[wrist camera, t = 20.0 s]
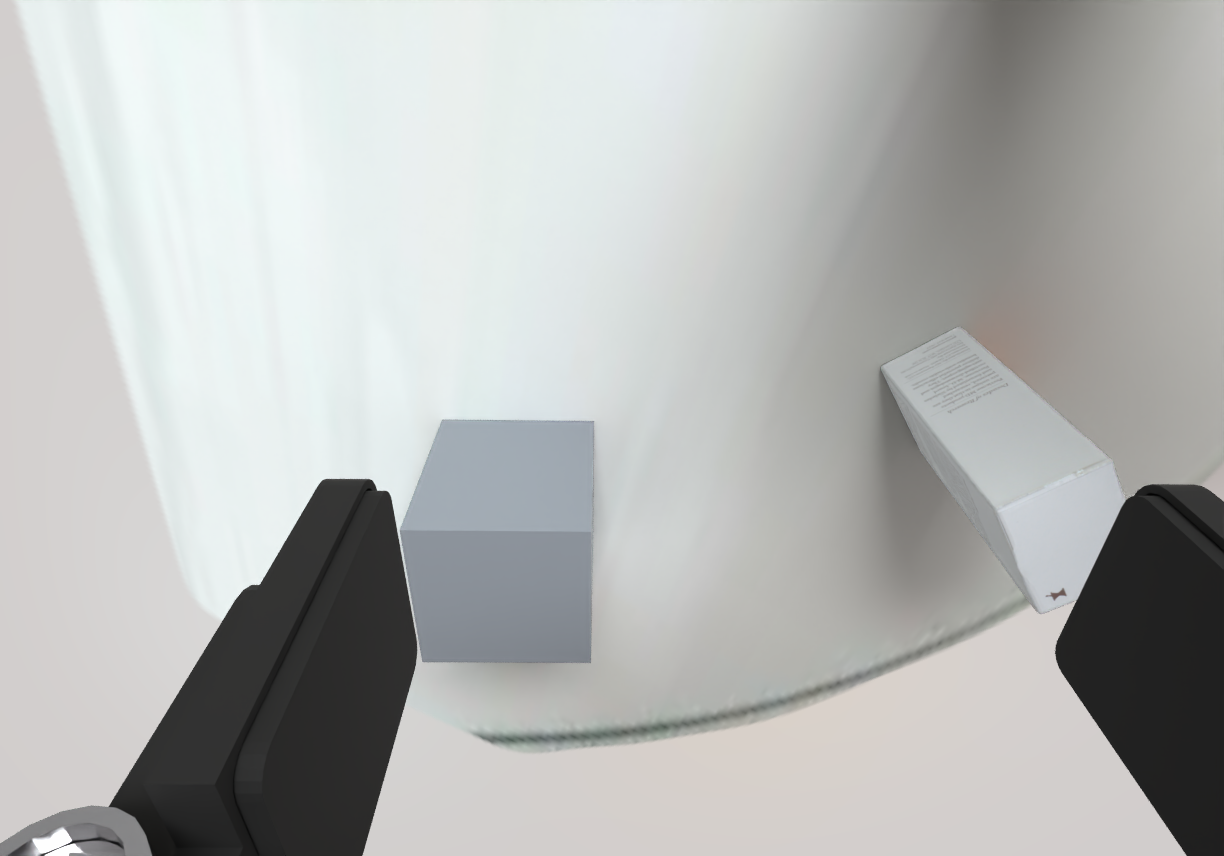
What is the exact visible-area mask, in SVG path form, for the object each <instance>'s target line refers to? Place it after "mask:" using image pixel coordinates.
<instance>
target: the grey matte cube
mask: <svg viewBox="0 0 1224 856" xmlns="http://www.w3.org/2000/svg"><path fill="white" fill-rule="evenodd" d="M593 459H594V421H506V420H442V422H441V424H440V427H439V429H438V432H437V435H436V437H435V440H434V443H433V445H432V448H431V450H430V453H429V456H428V458H427V461H426V463H425V466H424V469H423V471H422V474H421V476H420V479H419V482H418V484H417V487H416V489H415V492H414V495H413V497H412V500H411V502H410V505H409V508H408V510H407V513H406V516H405V518H404V521H403V523H402V526H401V529H400V534H401V540H402V546H403V551H404V557H405V563H406V569H407V575H408V581H409V586H410V592H411V598H412V604H413V610H414V615H415V621H416V627H417V633H418V639H419V645H420V650H421V656H422V662H543V663H591V621H592V566H593Z"/></svg>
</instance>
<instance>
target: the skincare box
mask: <svg viewBox="0 0 1224 856" xmlns="http://www.w3.org/2000/svg"><path fill="white" fill-rule="evenodd" d="M881 371H882V373H883V375H884V377H885V379H886V381H887V383H888V385H889V387H890V390H891V392H892V394H893V396H894V398H895V400H896V402H897V404H898V406H899V408H900V410H901V412H902V414H903V417H904V419H905V421H906V423H907V425H908V427H909V429H910V431H911V433H912V435H913V437H914V439H915V441H916V443H917V445H918V447H919V450H920V452H921V453H922V455H923V456H924V457H925V459H926V460H927V462H928V463H929V464H930V466H931V467H932V469H933V470H934V471H935V473H936V474H937V476H938V477H939V478H940V480H941V481H942V482H943V484H944V485H945V486H946V488H947V489H948V491H949V492H950V493H951V495H952V496H953V497H954V499H955V500H956V501H957V503H958V504H959V506H960V507H961V508H962V510H963V511H964V512H965V514H966V515H967V517H968V518H969V519H970V521H971V522H972V524H973V525H974V526H975V528H976V529H977V531H978V532H979V533H980V535H981V536H982V538H983V539H984V540H985V542H986V543H987V544H988V546H989V547H990V549H991V550H992V551H993V553H994V554H995V555H996V557H997V558H998V560H999V561H1000V562H1001V564H1002V565H1003V566H1004V568H1005V569H1006V571H1007V572H1008V574H1009V575H1010V577H1011V578H1012V580H1013V581H1014V582H1015V584H1016V585H1017V586H1018V588H1019V589H1020V590H1021V592H1022V593H1023V595H1024V596H1025V597H1026V598H1027V600H1028V601H1029V602H1030V604H1031V605H1032V606H1033V608H1034V609H1035V610H1036V611H1037V612H1038V613H1040V614H1043V613H1046V612H1049V611H1051V610H1054V609H1056V608H1059V607H1061V606H1064V605H1066V604H1069V603H1071V602H1074V601H1076V600H1077V599H1078V597H1079V595H1080V593H1081V591H1082V589H1083V586H1084V584H1085V582H1086V580H1087V578H1088V576H1089V574H1090V572H1091V570H1092V568H1093V566H1094V564H1095V561H1096V559H1097V557H1098V555H1099V553H1100V551H1101V549H1102V547H1103V545H1104V543H1105V541H1106V539H1107V536H1108V534H1109V532H1110V530H1111V528H1112V526H1113V524H1114V522H1115V520H1116V518H1117V516H1118V514H1119V511H1120V509H1121V507H1122V505H1123V504H1124V502H1125V501H1126V500H1125V497H1124V494H1123V491H1122V488H1121V485H1120V482H1119V479H1118V476H1117V473H1116V470H1115V467H1114V462H1113V460H1112V459H1111V458H1110V457H1108V456H1107V455H1106V454H1105V453H1104V452H1103V451H1102V450H1100V449H1099V448H1098V447H1097V446H1096V445H1095V444H1094V443H1093V442H1091V441H1090V440H1089V439H1088V438H1087V437H1086V436H1085V435H1083V434H1082V433H1081V432H1080V431H1079V430H1078V429H1077V428H1075V427H1074V426H1073V425H1072V424H1071V423H1070V422H1069V421H1068V420H1067V419H1065V418H1064V417H1063V416H1062V415H1061V414H1060V413H1059V412H1057V411H1056V410H1055V409H1054V408H1053V407H1052V406H1051V405H1050V404H1048V403H1047V402H1046V401H1045V400H1044V399H1043V398H1042V397H1040V396H1039V395H1038V394H1037V393H1036V392H1035V391H1034V390H1033V389H1031V388H1030V387H1029V386H1028V385H1027V384H1026V383H1025V382H1024V381H1022V380H1021V379H1020V378H1019V377H1018V376H1017V375H1016V374H1014V373H1013V372H1012V371H1011V370H1010V369H1009V368H1008V367H1006V366H1005V365H1004V364H1003V363H1002V362H1001V361H1000V360H999V359H997V358H996V357H995V356H994V355H993V354H992V353H990V352H989V351H988V350H987V349H986V348H985V347H984V346H982V345H981V344H980V343H979V342H978V341H977V340H976V339H974V338H973V337H972V336H971V335H970V334H969V333H968V332H966V331H965V330H964V329H963V328H962V327H956V328H954V329H952V330H950V331H948V332H946V333H944V334H942V335H941V336H939V337H937V338H935V339H933V340H931V341H929V342H927V343H925V344H923V345H921V346H919V347H917V348H916V349H914V350H912V351H910V352H908V353H906V354H904V355H902V356H900V357H898V358H896V359H894V360H892V361H890V362H888V363H886V364H884V365H883V366H881Z"/></svg>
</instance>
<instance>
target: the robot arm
mask: <svg viewBox="0 0 1224 856" xmlns="http://www.w3.org/2000/svg"><path fill="white" fill-rule="evenodd" d="M1055 654H1056V660H1057V663H1058V666H1059V668H1060V670H1061V672H1062V674H1063V675H1064V677H1065V678H1066V680H1067V681H1068V682H1069V684H1070V685H1071V687H1072V688H1073V690H1074V691H1075V693H1076V694H1077V696H1078V697H1079V699H1080V700H1081V701H1082V703H1083V704H1084V706H1085V707H1086V709H1087V710H1088V712H1089V713H1090V715H1091V716H1092V718H1093V719H1094V720H1095V722H1096V723H1097V725H1098V726H1099V728H1100V729H1101V731H1102V732H1103V734H1104V735H1105V736H1106V738H1107V739H1108V741H1109V742H1110V744H1111V745H1112V747H1113V748H1114V750H1115V751H1116V753H1117V754H1118V755H1119V757H1120V759H1121V760H1122V761H1123V763H1124V764H1125V766H1126V767H1127V769H1128V770H1129V772H1130V773H1131V775H1132V776H1133V778H1134V779H1135V780H1136V782H1137V783H1138V785H1139V786H1140V788H1141V789H1142V791H1143V792H1144V794H1145V795H1146V797H1147V798H1148V799H1149V801H1150V802H1151V804H1152V805H1153V806H1154V808H1155V810H1156V811H1157V813H1158V814H1159V816H1160V817H1161V819H1162V820H1163V821H1164V823H1165V824H1166V826H1167V827H1168V829H1169V830H1170V832H1171V833H1172V835H1173V836H1174V838H1175V839H1176V841H1177V842H1178V843H1179V845H1180V846H1181V847H1182V849H1183V851H1184V852H1185V854H1186V855H1187V856H1224V502H1223V501H1222V500H1221V499H1220V498H1218V497H1217V496H1216V495H1215V494H1213V493H1212V492H1211V491H1209V490H1208V489H1206V488H1204V487H1202V486H1198V485H1156V484H1152V485H1147V486H1144V487H1142V488H1141V489H1140V490H1138V491H1137V493H1136V494H1135V495H1134V496H1133V497H1130V498H1129V499H1127V500H1126V501H1125V502H1124V504H1123V505H1122V507H1121V509H1120V511H1119V514H1118V516H1117V518H1116V520H1115V522H1114V524H1113V526H1112V528H1111V530H1110V532H1109V534H1108V536H1107V539H1106V541H1105V543H1104V545H1103V547H1102V549H1101V551H1100V553H1099V555H1098V557H1097V559H1096V561H1095V564H1094V566H1093V568H1092V570H1091V572H1090V574H1089V576H1088V578H1087V580H1086V582H1085V584H1084V586H1083V589H1082V591H1081V593H1080V595H1079V597H1078V599H1077V601H1076V603H1075V605H1074V607H1073V610H1072V611H1071V614H1070V616H1069V618H1068V620H1067V622H1066V624H1065V626H1064V628H1063V630H1062V632H1061V634H1060V636H1059V639H1058V641H1057V644H1056V651H1055ZM416 659H417V640H416V634H415V629H414V623H413V617H412V612H411V606H410V601H409V595H408V589H407V584H406V578H405V572H404V567H403V561H402V556H401V550H400V544H399V539H398V533H397V527H396V522H395V516H394V511H393V505H392V500H391V496H390V494H389V492H387V491H377V489H376V486H375V484H374V482H373V481H372V480H370V479H325V480H322V482H321V483H320V484H319V485H318V487H317V489H316V490H315V492H314V494H313V495H312V497H311V499H310V500H309V502H308V504H307V506H306V507H305V509H304V511H303V512H302V514H301V516H300V518H299V519H298V521H297V523H296V524H295V526H294V528H293V529H292V531H291V533H290V535H289V536H288V538H287V540H286V541H285V543H284V545H283V546H282V548H281V550H280V552H279V553H278V555H277V557H276V558H275V560H274V562H273V563H272V565H271V567H270V569H269V570H268V572H267V574H266V575H265V577H264V579H263V581H262V582H261V584H260V585H251V586H249V587H248V588H246V589H244V590H243V591H242V592H241V594H240V595H239V596H238V597H237V599H236V600H235V602H234V603H233V605H232V606H231V608H230V610H229V611H228V613H227V615H226V616H225V618H224V619H223V621H222V623H221V624H220V626H219V628H218V629H217V631H216V633H215V634H214V636H213V637H212V639H211V641H210V642H209V644H208V646H207V647H206V649H205V650H204V653H203V654H202V656H201V657H200V659H199V660H198V662H197V664H196V665H195V667H194V668H193V670H192V672H191V673H190V675H189V677H188V678H187V680H186V681H185V683H184V685H183V686H182V688H181V690H180V691H179V693H178V695H177V696H176V698H175V699H174V701H173V703H172V704H171V706H170V708H169V709H168V711H167V713H166V714H165V716H164V717H163V719H162V721H161V723H160V724H159V725H158V727H157V729H156V730H155V732H154V734H153V735H152V737H151V739H150V740H149V742H148V743H147V745H146V747H145V748H144V750H143V752H142V753H141V755H140V757H139V758H138V760H137V761H136V763H135V765H134V766H133V768H132V770H131V771H130V773H129V775H128V776H127V778H126V779H125V781H124V783H123V784H122V786H121V788H120V789H119V791H118V793H117V794H116V796H115V797H114V799H113V800H112V802H111V804H110V806H109V807H102V806H87V807H82V808H77V809H72V810H67V811H62V812H59V813H57V814H55V815H52V816H50V817H47V818H45V819H43V820H40V821H38V822H36V823H34V824H31V825H29V826H27V827H26V828H24V829H22V830H21V831H20V832H18V833H16V834H15V835H13V836H12V837H10V838H8V839H7V840H5V841H4V842H2V843H0V856H362V855H363V852H364V848H365V844H366V841H367V837H368V834H369V830H370V827H371V823H372V820H373V816H374V813H375V809H376V805H377V802H378V798H379V795H380V791H381V788H382V784H383V781H384V777H385V773H386V770H387V766H388V763H389V759H390V756H391V752H392V749H393V745H394V742H395V738H396V734H397V731H398V727H399V724H400V720H401V717H402V713H403V710H404V706H405V702H406V699H407V695H408V692H409V688H410V685H411V681H412V678H413V674H414V670H415V666H416Z"/></svg>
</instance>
